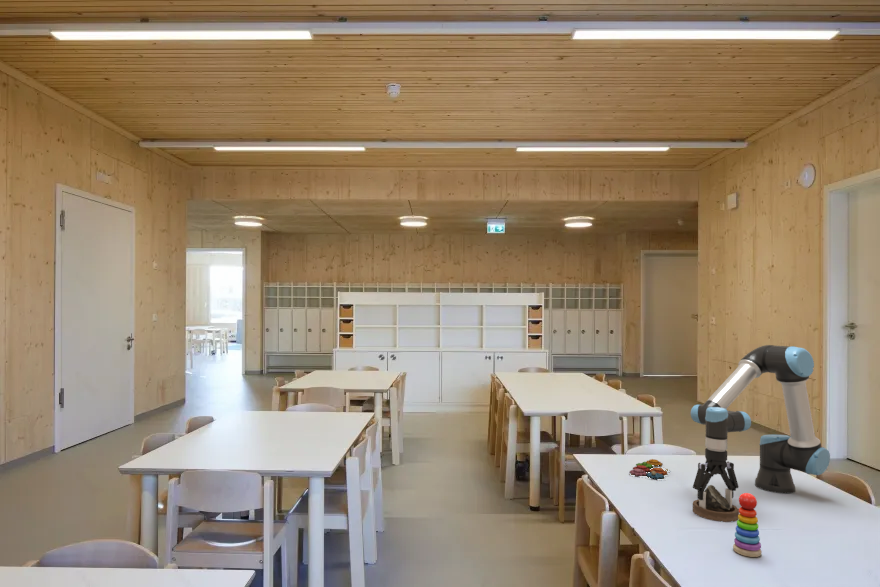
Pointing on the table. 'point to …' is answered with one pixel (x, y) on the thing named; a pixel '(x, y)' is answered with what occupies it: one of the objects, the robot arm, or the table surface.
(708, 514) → the round tray
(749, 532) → the stacking toy
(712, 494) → the grey brown rock
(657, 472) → the gear puzzle
